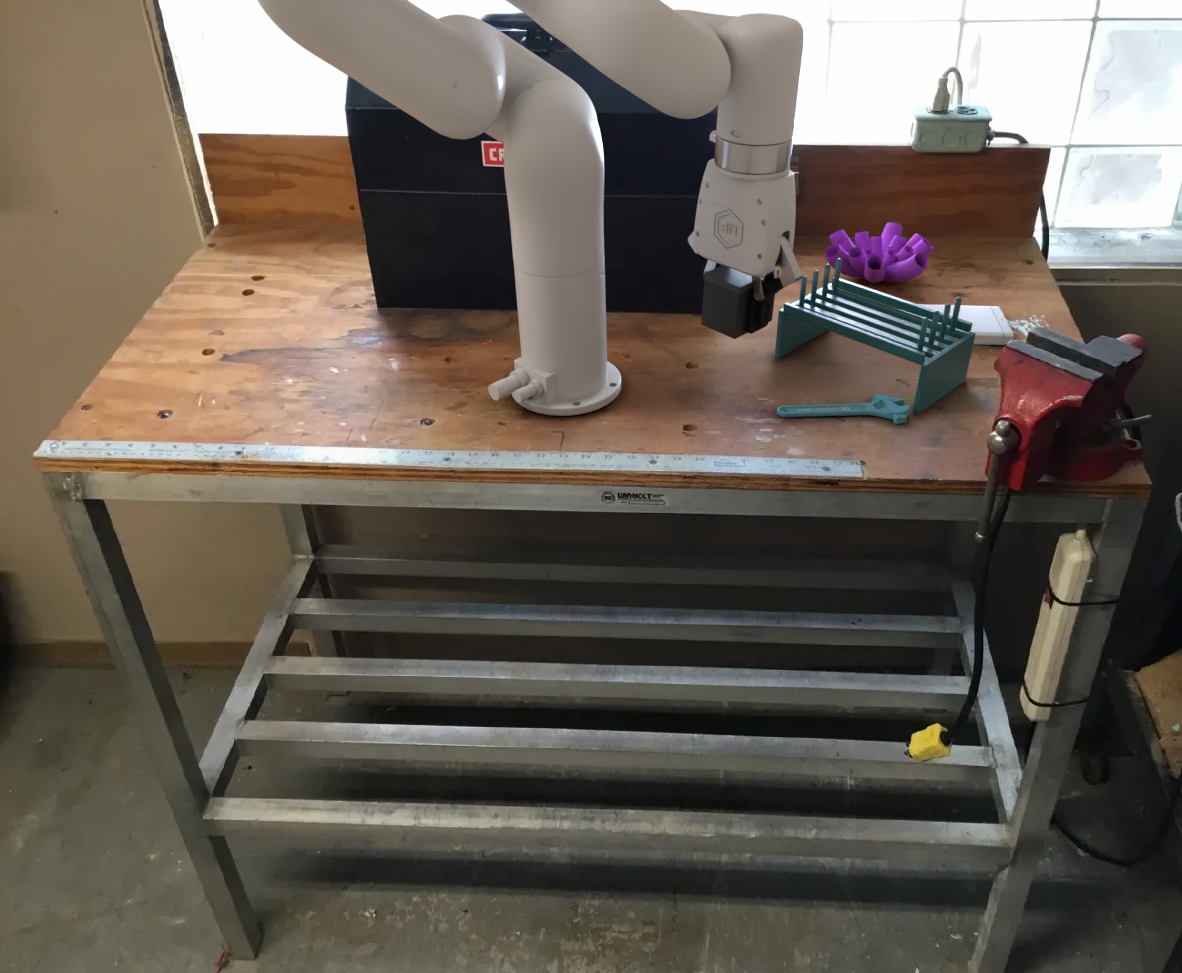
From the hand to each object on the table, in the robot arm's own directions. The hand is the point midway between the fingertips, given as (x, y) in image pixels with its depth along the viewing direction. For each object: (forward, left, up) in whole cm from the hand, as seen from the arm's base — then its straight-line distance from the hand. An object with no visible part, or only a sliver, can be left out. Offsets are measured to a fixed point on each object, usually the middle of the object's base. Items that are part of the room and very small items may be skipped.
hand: (736, 319), depth 108 cm
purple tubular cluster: (+34, +4, -8) cm, 35 cm away
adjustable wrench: (+2, -13, -8) cm, 15 cm away
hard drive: (+28, -11, -8) cm, 31 cm away
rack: (+13, -9, -8) cm, 18 cm away
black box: (0, 0, 0) cm, 0 cm away
